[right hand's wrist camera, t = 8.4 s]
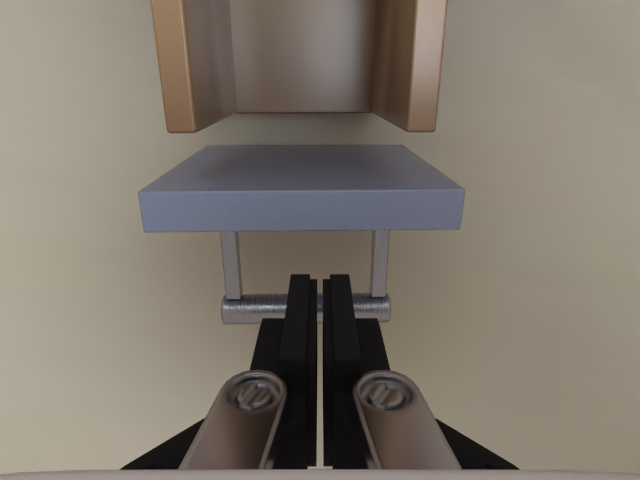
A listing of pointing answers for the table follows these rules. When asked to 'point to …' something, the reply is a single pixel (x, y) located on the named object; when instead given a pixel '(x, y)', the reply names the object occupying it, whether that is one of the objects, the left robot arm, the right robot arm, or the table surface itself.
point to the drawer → (300, 97)
